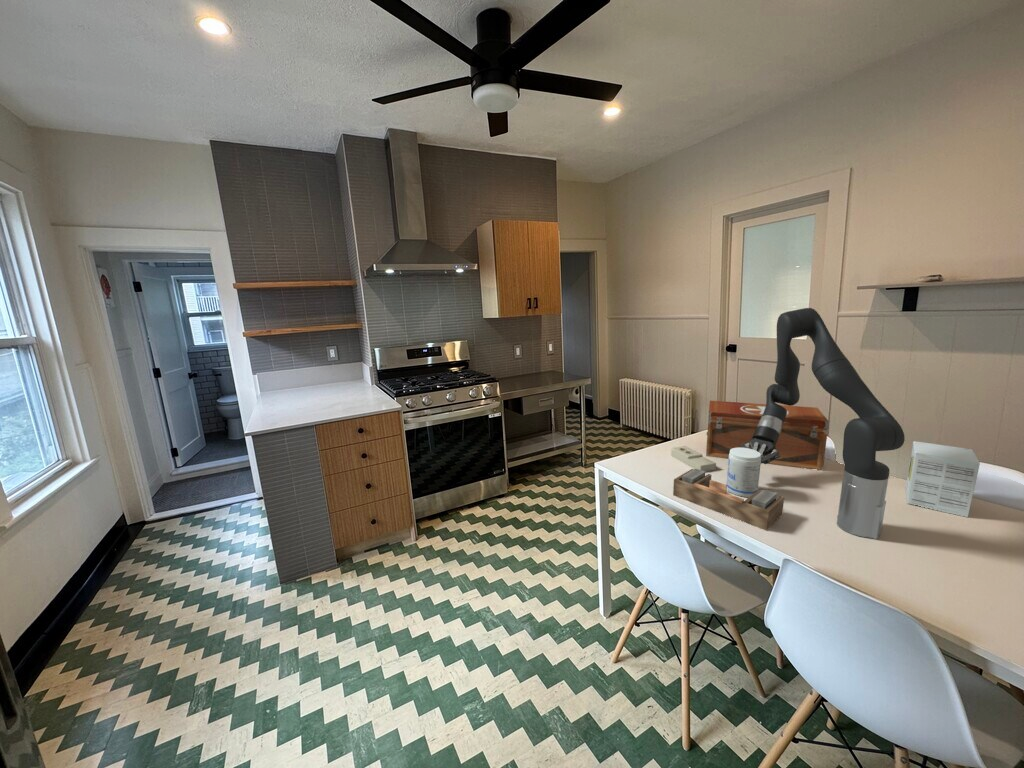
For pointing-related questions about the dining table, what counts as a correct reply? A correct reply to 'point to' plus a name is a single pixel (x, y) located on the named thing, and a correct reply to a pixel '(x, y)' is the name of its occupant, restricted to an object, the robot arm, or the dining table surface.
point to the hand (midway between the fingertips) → (751, 470)
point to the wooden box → (795, 443)
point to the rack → (729, 499)
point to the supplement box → (942, 477)
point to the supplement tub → (743, 471)
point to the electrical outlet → (692, 458)
